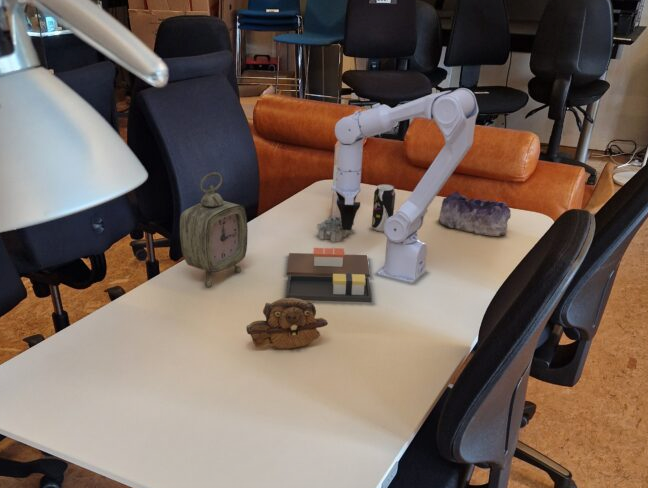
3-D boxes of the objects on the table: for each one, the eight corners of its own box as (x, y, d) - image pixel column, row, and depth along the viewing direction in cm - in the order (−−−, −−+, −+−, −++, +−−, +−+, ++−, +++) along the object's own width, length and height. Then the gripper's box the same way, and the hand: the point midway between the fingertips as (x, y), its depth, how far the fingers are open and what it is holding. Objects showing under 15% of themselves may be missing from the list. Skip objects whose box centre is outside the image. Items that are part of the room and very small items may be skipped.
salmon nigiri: (342, 260, 181) (343, 248, 179) (343, 266, 177) (344, 254, 175) (313, 259, 181) (313, 247, 179) (313, 266, 178) (313, 253, 176)
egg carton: (337, 243, 193) (338, 229, 191) (313, 237, 197) (313, 223, 194) (356, 231, 201) (357, 217, 199) (332, 226, 204) (333, 212, 202)
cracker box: (350, 220, 208) (355, 145, 197) (330, 218, 209) (333, 144, 198) (356, 204, 220) (361, 133, 208) (337, 203, 221) (340, 132, 209)
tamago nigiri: (363, 287, 169) (364, 273, 167) (364, 295, 166) (365, 281, 164) (332, 286, 169) (332, 272, 168) (332, 294, 166) (333, 280, 164)
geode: (431, 229, 203) (435, 193, 198) (442, 222, 212) (446, 187, 208) (504, 239, 195) (510, 201, 191) (512, 231, 204) (518, 195, 200)
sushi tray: (368, 283, 172) (369, 276, 171) (370, 303, 163) (371, 297, 162) (288, 280, 173) (288, 274, 172) (286, 301, 164) (286, 294, 163)
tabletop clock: (208, 292, 167) (202, 184, 153) (180, 282, 172) (172, 176, 158) (248, 272, 177) (246, 169, 163) (220, 263, 181) (216, 162, 168)
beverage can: (367, 227, 204) (370, 184, 197) (385, 224, 206) (388, 182, 199) (378, 234, 199) (381, 191, 193) (395, 231, 201) (400, 188, 195)
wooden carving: (250, 357, 143) (249, 311, 137) (245, 346, 146) (244, 301, 141) (329, 347, 146) (331, 302, 141) (322, 336, 150) (324, 292, 144)
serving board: (367, 259, 184) (367, 255, 184) (369, 278, 174) (370, 274, 174) (289, 257, 185) (289, 252, 184) (287, 276, 175) (287, 271, 174)
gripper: (332, 159, 177) (329, 213, 185) (333, 177, 165) (330, 234, 173) (360, 160, 177) (357, 214, 185) (364, 178, 165) (360, 234, 173)
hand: (346, 224), depth 179 cm, fingers open, 7 cm apart
